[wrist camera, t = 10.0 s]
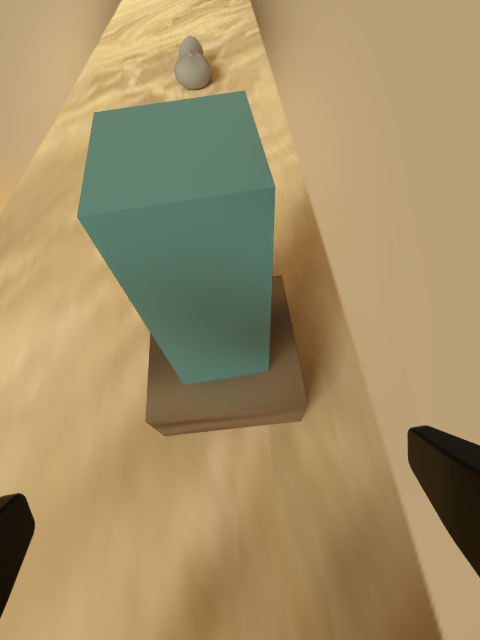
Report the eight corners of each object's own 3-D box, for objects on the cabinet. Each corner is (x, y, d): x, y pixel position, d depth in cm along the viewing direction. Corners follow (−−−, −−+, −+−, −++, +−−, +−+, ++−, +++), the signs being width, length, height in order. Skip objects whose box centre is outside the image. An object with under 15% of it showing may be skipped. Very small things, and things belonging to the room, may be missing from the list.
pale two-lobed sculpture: (208, 103, 45) (171, 92, 44) (212, 74, 49) (178, 64, 48) (213, 68, 42) (173, 56, 40) (217, 40, 45) (181, 28, 44)
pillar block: (268, 371, 19) (275, 186, 8) (183, 385, 19) (76, 216, 8) (254, 301, 21) (244, 90, 11) (179, 313, 21) (94, 112, 11)
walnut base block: (300, 420, 21) (307, 403, 18) (164, 435, 21) (145, 421, 18) (279, 306, 26) (281, 275, 22) (167, 319, 26) (152, 290, 22)
